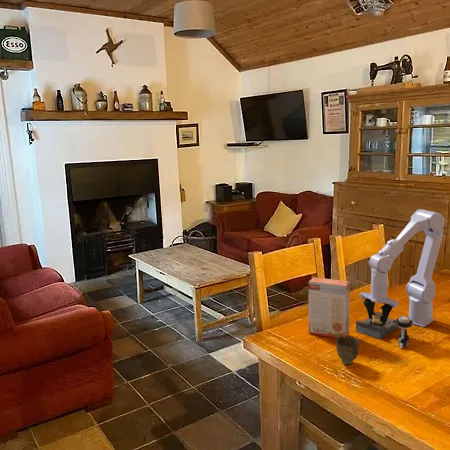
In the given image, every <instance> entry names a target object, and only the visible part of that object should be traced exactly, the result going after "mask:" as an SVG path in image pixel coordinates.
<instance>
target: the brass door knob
mask: <svg viewBox="0 0 450 450" xmlns="http://www.w3.org/2000/svg"><path fill="white" fill-rule="evenodd" d="M372 325H375V326H383V323H382V312H380V311H374V312H373V313H372Z"/></svg>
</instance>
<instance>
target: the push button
mask: <svg viewBox="0 0 450 450" xmlns="http://www.w3.org/2000/svg"><path fill="white" fill-rule="evenodd" d="M395 320H396V322H397V325H398V326H399V328H400V332H399V334H398V347H399V348H400V349H402V348H405V347H406V346H409V342H410V341H409V337H410V336H409V334H408V329H409V328H411V327H412V325H413V324H412V323H413V321H412V320H410V318H409V316H405V315H401V316H399V317H397V318H396V319H395Z"/></svg>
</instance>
